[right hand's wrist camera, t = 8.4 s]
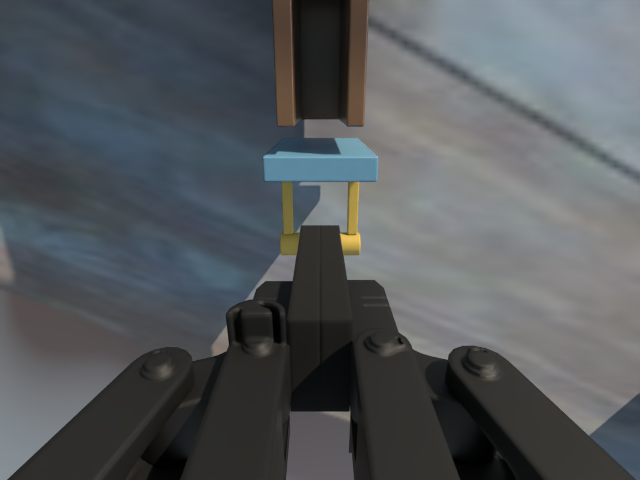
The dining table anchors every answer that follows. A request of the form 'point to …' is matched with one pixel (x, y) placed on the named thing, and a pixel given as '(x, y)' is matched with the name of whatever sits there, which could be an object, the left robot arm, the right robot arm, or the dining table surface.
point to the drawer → (320, 103)
